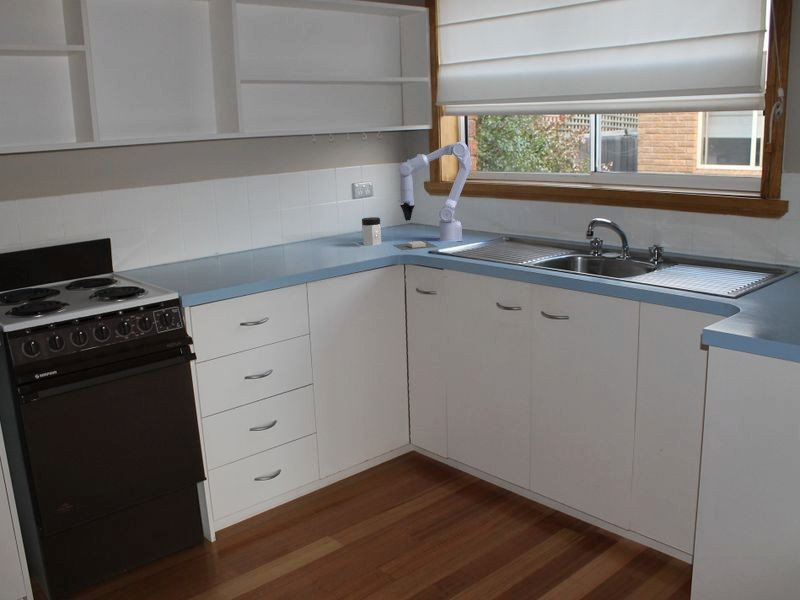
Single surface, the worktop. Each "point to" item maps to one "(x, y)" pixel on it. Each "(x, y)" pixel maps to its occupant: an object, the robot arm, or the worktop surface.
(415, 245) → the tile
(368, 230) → the jar
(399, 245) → the mat
